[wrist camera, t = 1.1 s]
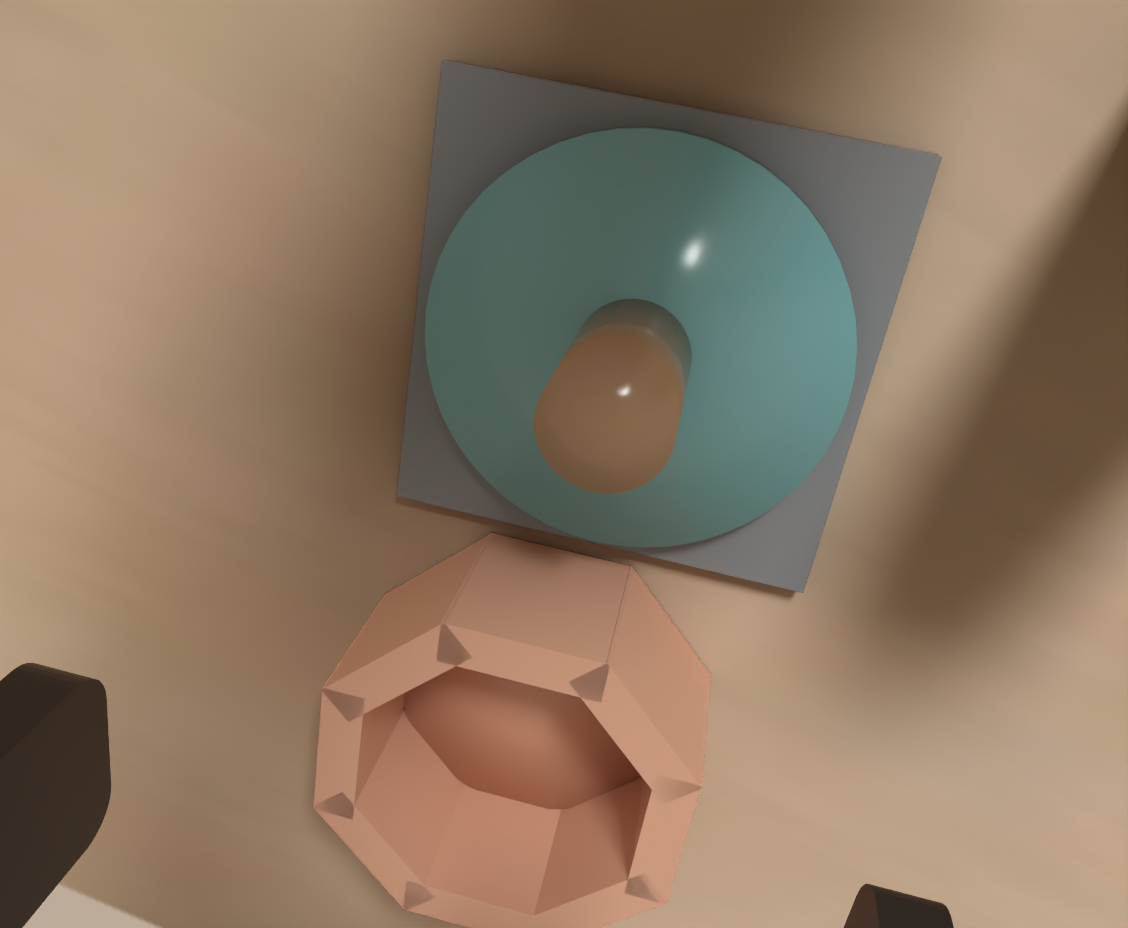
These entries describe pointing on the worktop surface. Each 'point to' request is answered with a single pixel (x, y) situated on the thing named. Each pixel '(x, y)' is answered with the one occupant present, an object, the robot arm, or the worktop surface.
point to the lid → (641, 337)
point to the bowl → (516, 740)
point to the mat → (798, 156)
